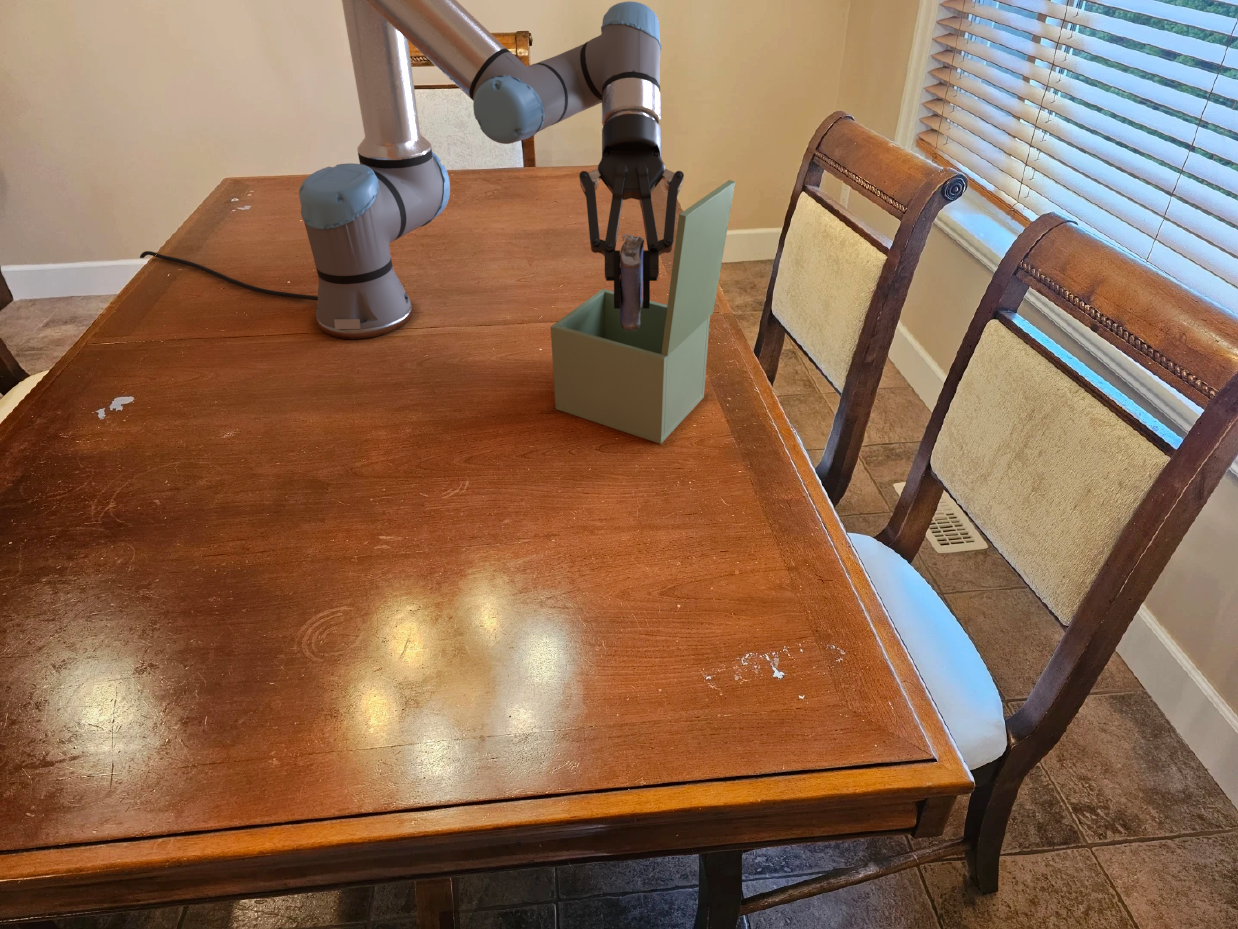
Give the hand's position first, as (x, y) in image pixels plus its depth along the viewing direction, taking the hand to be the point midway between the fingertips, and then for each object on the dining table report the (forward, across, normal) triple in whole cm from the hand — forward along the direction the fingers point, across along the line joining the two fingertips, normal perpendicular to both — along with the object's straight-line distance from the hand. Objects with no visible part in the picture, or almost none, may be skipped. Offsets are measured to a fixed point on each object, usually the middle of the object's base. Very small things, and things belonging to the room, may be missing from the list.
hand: (631, 304), depth 98 cm
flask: (0, 0, -5) cm, 5 cm away
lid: (-3, -8, +4) cm, 9 cm away
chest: (+9, 0, -15) cm, 17 cm away
